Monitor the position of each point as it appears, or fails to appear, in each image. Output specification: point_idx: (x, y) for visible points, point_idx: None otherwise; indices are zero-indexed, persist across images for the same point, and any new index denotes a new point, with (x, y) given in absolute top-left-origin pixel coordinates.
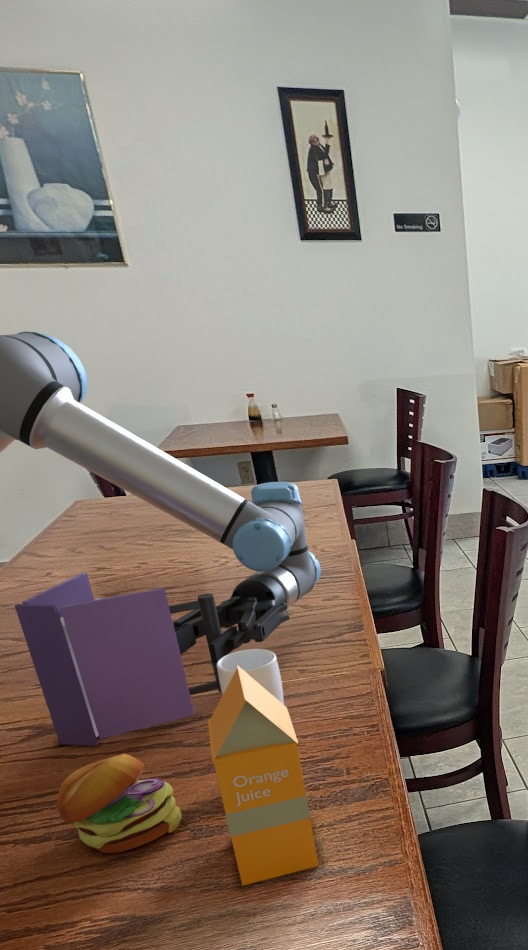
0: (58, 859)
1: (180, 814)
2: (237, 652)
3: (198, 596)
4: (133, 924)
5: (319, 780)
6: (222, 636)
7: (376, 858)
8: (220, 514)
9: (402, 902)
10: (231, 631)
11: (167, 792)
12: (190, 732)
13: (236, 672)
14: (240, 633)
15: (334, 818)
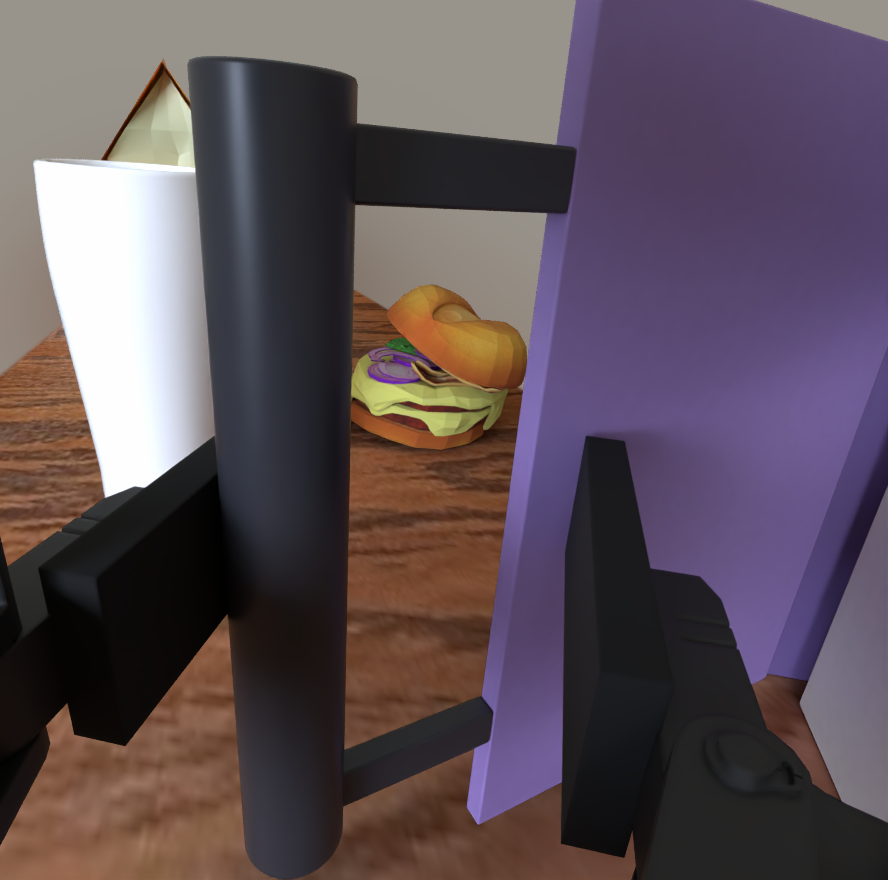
0: (504, 408)
1: None
2: (150, 172)
3: (345, 78)
4: (358, 354)
5: (60, 466)
6: (211, 444)
7: (58, 362)
8: None
9: (64, 335)
10: (120, 513)
11: (356, 368)
12: (441, 699)
13: (168, 71)
14: (34, 565)
15: (80, 405)
